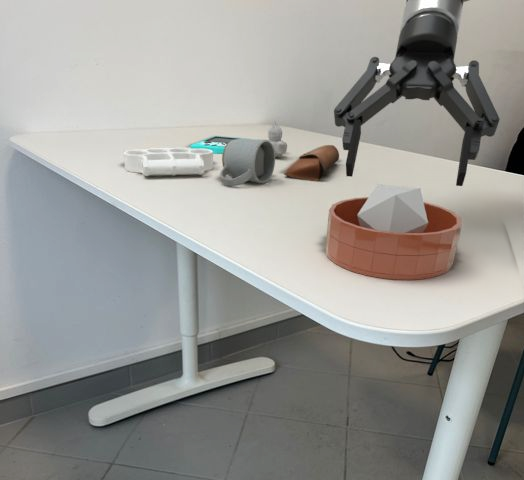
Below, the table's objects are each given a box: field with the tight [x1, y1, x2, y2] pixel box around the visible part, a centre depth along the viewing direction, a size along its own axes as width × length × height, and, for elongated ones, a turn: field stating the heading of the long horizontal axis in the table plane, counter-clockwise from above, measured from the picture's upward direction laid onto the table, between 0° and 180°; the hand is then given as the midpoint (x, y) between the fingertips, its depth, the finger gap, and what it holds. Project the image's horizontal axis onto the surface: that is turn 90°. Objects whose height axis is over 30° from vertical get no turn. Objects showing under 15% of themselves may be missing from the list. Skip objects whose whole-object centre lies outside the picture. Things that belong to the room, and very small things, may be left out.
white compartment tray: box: [123, 147, 214, 177], centre depth 109 cm, size 3×18×15 cm
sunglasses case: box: [283, 144, 340, 182], centre depth 112 cm, size 18×7×7 cm
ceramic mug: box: [219, 138, 276, 187], centre depth 101 cm, size 11×8×8 cm
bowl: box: [325, 196, 463, 281], centre depth 69 cm, size 16×16×6 cm
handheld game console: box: [189, 135, 245, 154], centre depth 133 cm, size 10×16×1 cm, turn 162°
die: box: [357, 183, 428, 233], centre depth 68 cm, size 8×9×10 cm
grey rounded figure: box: [267, 120, 288, 158], centre depth 122 cm, size 5×7×8 cm
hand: (403, 175), depth 67 cm, fingers open, 13 cm apart
